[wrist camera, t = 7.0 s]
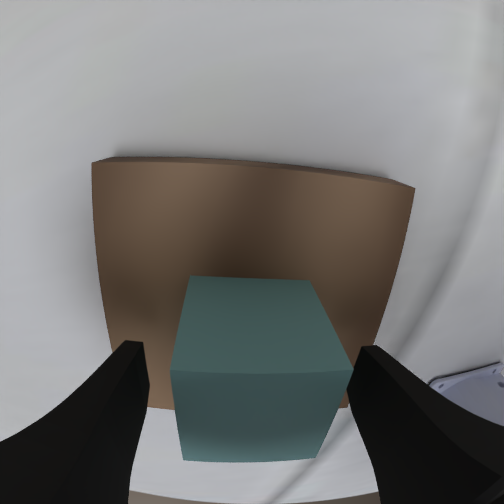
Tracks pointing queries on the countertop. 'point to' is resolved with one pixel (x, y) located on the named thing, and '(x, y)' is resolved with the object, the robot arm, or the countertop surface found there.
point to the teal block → (255, 370)
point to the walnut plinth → (240, 243)
